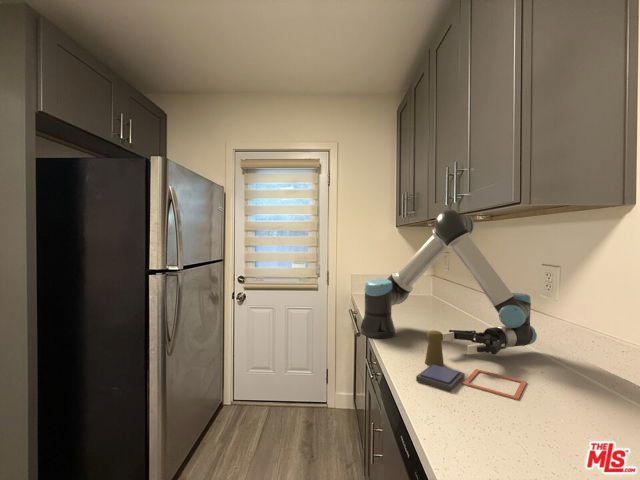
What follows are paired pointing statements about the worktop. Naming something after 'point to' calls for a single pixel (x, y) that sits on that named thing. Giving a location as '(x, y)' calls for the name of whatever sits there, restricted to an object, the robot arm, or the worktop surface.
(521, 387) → the marked square
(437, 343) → the cork
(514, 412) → the worktop surface
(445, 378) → the ink pad
